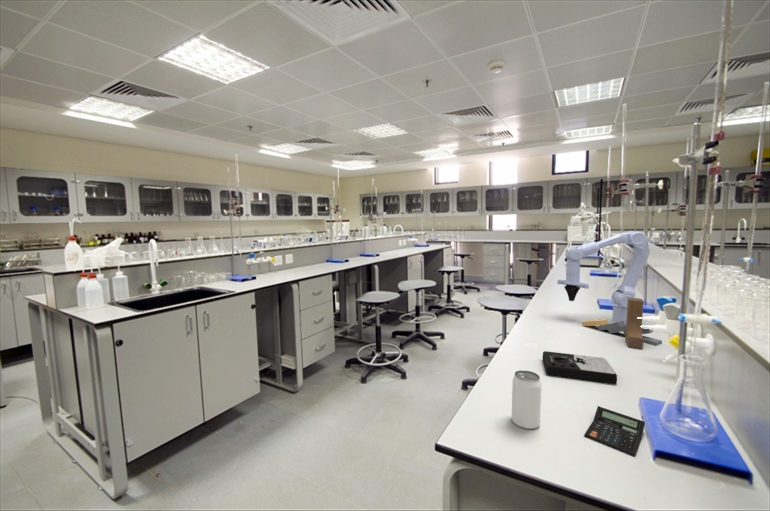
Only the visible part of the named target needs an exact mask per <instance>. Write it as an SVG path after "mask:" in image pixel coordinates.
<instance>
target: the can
mask: <svg viewBox="0 0 770 511" xmlns="http://www.w3.org/2000/svg"><path fill="white" fill-rule="evenodd" d="M540 379H541V377H540V375H539V374H537V373H536V372H533V371H530V370H524V369H521V370H517V371H514V376H513V378H512V388H511V390H512V391H511V421H512V422H513V423H514V425H516V426H518V427H520V429H521V428H522V429H525V430H535V429H537V428H538V427H540V425H541V409H542V407H541V406H542V381H541V380H540Z"/></svg>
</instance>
